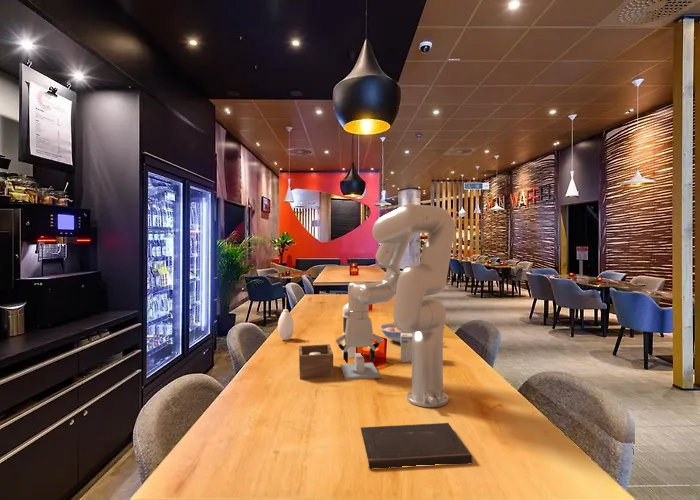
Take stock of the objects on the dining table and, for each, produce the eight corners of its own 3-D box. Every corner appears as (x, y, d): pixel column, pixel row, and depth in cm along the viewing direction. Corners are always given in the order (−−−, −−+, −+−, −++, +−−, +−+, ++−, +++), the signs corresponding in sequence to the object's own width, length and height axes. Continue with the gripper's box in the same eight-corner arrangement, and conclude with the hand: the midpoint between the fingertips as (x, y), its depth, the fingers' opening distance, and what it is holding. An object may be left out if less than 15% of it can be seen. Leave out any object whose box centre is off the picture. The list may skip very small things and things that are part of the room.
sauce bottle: (297, 339, 200) (296, 303, 200) (286, 342, 194) (286, 306, 193) (285, 337, 205) (284, 302, 204) (274, 340, 198) (274, 304, 198)
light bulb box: (426, 358, 166) (425, 332, 166) (427, 362, 159) (427, 336, 159) (400, 357, 167) (400, 332, 167) (400, 362, 160) (400, 336, 160)
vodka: (347, 352, 176) (346, 285, 175) (366, 354, 172) (365, 285, 171) (338, 357, 167) (337, 287, 167) (358, 360, 164) (357, 288, 163)
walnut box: (333, 379, 141) (333, 354, 141) (299, 381, 140) (299, 356, 139) (330, 367, 155) (329, 344, 155) (299, 368, 154) (298, 345, 153)
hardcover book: (360, 436, 101) (360, 427, 101) (448, 431, 103) (448, 422, 103) (368, 472, 85) (368, 462, 85) (472, 466, 87) (472, 455, 87)
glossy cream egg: (321, 370, 149) (321, 354, 148) (310, 371, 148) (309, 355, 148) (320, 366, 153) (320, 351, 153) (308, 367, 152) (308, 352, 152)
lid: (380, 380, 140) (380, 360, 140) (345, 382, 139) (344, 363, 138) (372, 367, 155) (371, 349, 155) (340, 369, 153) (340, 351, 153)
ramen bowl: (372, 337, 202) (372, 321, 202) (412, 334, 209) (412, 318, 209) (391, 350, 178) (391, 332, 178) (436, 345, 185) (436, 328, 185)
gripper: (336, 317, 141) (336, 365, 142) (383, 316, 144) (384, 362, 144) (334, 314, 149) (334, 359, 149) (379, 312, 151) (379, 357, 152)
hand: (359, 361), depth 147 cm, fingers open, 9 cm apart
